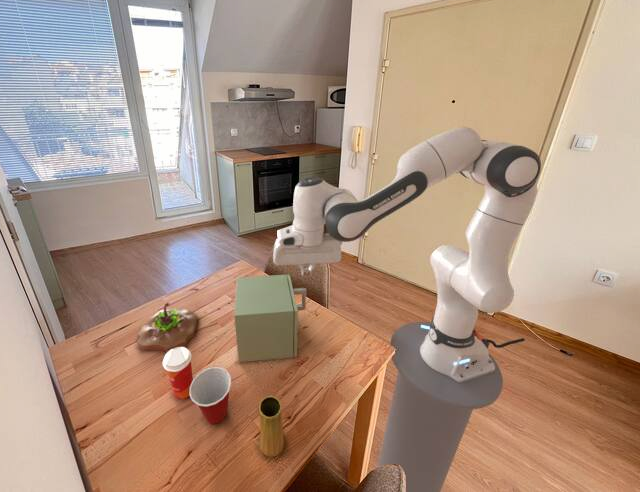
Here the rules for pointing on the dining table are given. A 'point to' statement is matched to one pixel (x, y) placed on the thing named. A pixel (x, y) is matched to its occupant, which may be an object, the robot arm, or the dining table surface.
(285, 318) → the cupboard
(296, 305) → the cupboard door
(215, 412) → the plastic cup
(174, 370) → the paper cup
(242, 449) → the dining table surface
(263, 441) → the vase
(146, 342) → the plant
